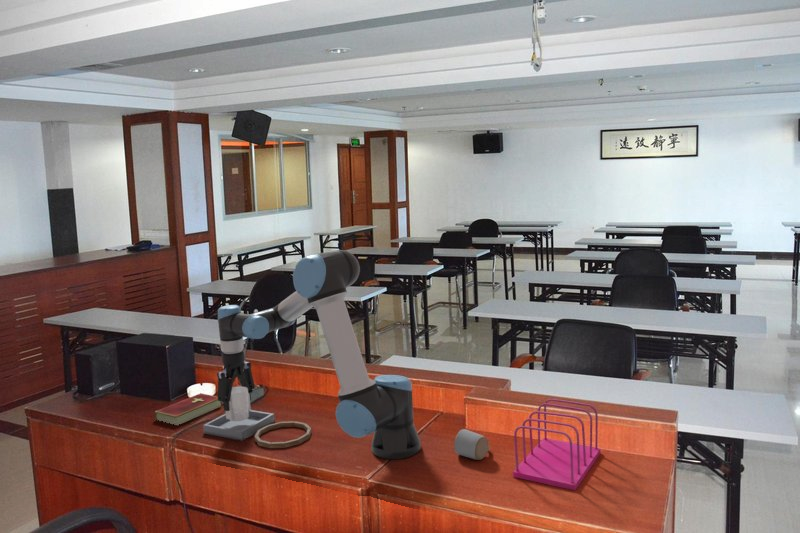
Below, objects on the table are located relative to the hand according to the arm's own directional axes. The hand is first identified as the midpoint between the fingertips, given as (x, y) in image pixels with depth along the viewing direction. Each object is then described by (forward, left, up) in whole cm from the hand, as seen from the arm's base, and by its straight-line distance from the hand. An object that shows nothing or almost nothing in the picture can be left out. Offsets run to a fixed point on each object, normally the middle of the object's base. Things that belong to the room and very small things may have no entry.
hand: (238, 414), depth 227 cm
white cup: (0, 0, -1) cm, 1 cm away
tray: (0, 0, -5) cm, 5 cm away
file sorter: (-37, -102, -5) cm, 108 cm away
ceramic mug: (-28, -79, -5) cm, 84 cm away
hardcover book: (+16, +23, -5) cm, 29 cm away
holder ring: (-9, -17, -5) cm, 20 cm away
